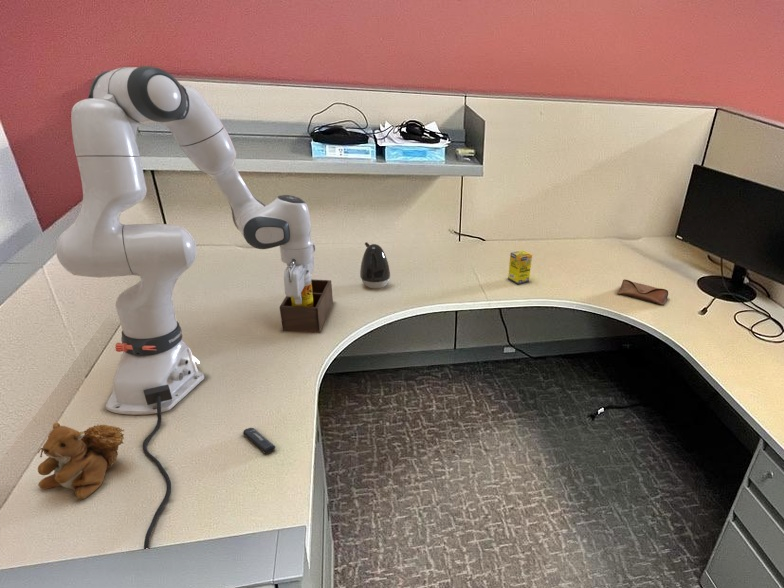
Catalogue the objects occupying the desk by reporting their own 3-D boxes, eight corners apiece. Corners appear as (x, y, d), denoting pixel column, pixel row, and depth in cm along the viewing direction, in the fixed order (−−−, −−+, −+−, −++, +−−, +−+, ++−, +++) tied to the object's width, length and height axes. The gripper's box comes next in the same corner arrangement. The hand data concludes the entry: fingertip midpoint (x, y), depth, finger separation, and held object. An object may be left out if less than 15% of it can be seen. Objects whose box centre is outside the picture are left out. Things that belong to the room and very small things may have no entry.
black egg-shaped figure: (379, 277, 204) (378, 237, 197) (396, 287, 198) (395, 246, 191) (354, 283, 198) (352, 242, 190) (371, 294, 192) (369, 251, 184)
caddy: (319, 332, 166) (317, 308, 162) (282, 331, 165) (279, 306, 161) (333, 302, 184) (331, 280, 180) (299, 301, 183) (296, 278, 179)
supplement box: (517, 285, 210) (520, 257, 204) (507, 279, 214) (510, 252, 208) (529, 281, 214) (532, 254, 208) (519, 276, 217) (521, 249, 212)
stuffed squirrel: (34, 490, 106) (9, 436, 99) (105, 447, 118) (86, 395, 111) (72, 507, 104) (49, 453, 97) (141, 461, 115) (124, 409, 108)
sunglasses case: (616, 293, 210) (621, 276, 210) (618, 296, 217) (623, 279, 217) (663, 305, 205) (669, 287, 205) (664, 308, 212) (669, 291, 211)
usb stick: (276, 450, 122) (276, 444, 121) (265, 455, 120) (264, 450, 119) (253, 430, 126) (252, 425, 126) (242, 435, 125) (241, 430, 124)
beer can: (308, 324, 167) (303, 277, 159) (289, 320, 167) (283, 273, 160) (318, 315, 172) (314, 269, 164) (299, 312, 172) (294, 266, 165)
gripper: (300, 268, 151) (305, 314, 158) (316, 242, 168) (319, 284, 175) (275, 267, 150) (281, 313, 157) (294, 240, 167) (298, 283, 174)
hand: (302, 298), depth 166 cm, fingers closed on beer can, 6 cm apart
